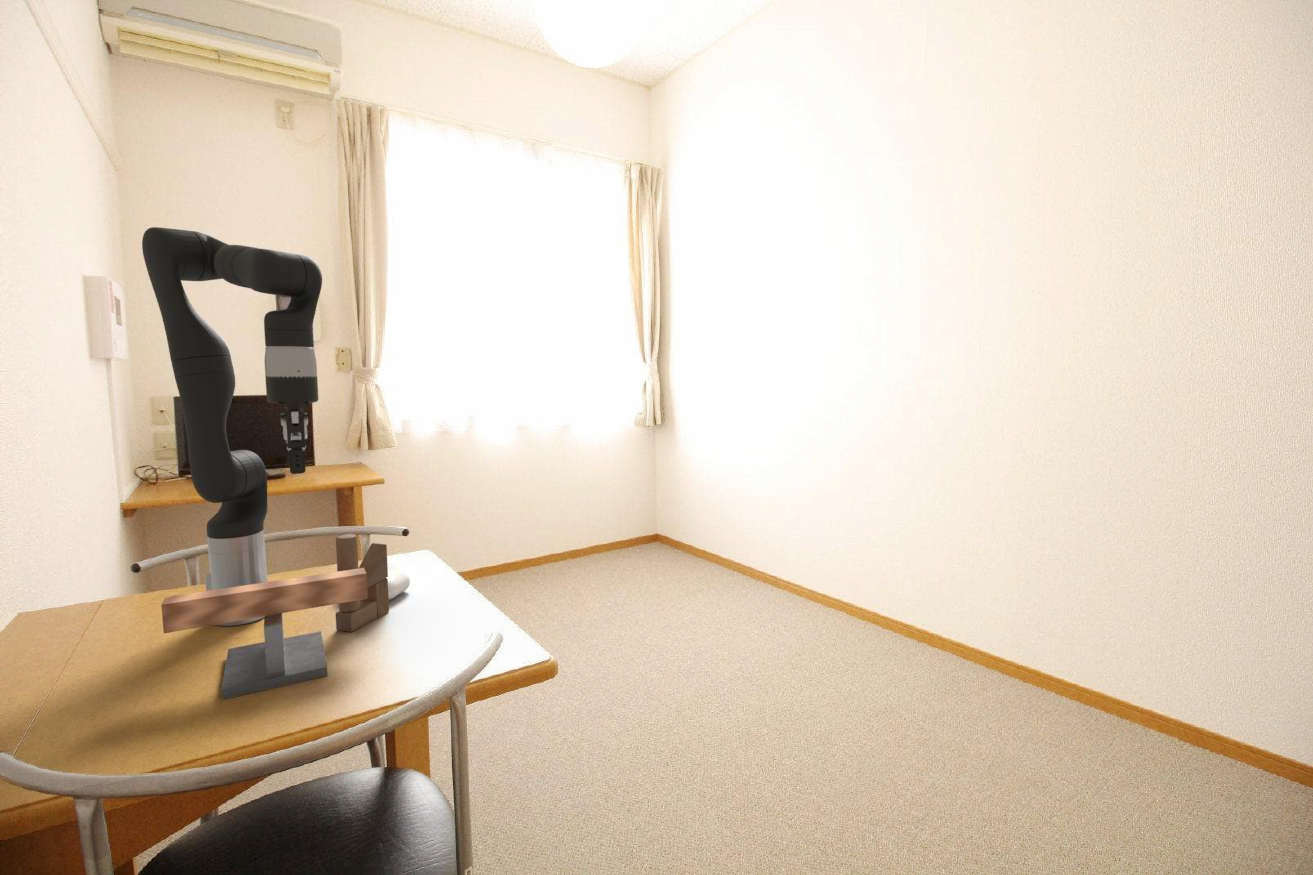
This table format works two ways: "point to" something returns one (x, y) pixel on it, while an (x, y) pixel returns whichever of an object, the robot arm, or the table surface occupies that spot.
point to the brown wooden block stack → (377, 583)
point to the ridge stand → (273, 661)
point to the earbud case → (396, 583)
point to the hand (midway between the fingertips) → (297, 469)
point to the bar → (262, 599)
